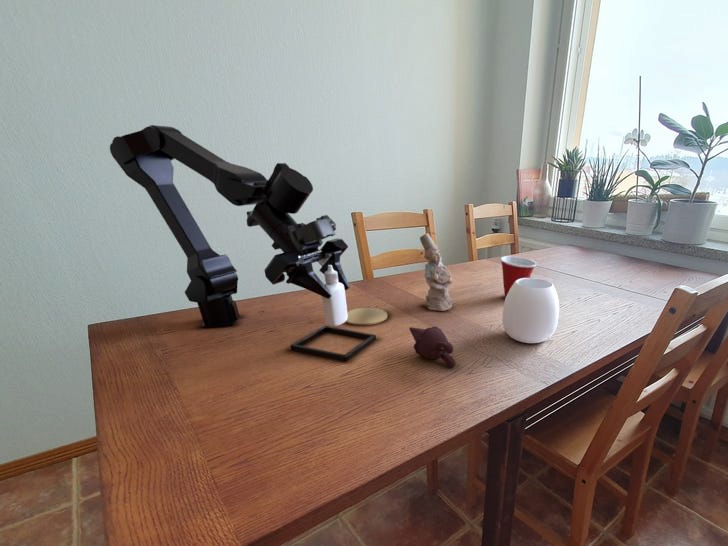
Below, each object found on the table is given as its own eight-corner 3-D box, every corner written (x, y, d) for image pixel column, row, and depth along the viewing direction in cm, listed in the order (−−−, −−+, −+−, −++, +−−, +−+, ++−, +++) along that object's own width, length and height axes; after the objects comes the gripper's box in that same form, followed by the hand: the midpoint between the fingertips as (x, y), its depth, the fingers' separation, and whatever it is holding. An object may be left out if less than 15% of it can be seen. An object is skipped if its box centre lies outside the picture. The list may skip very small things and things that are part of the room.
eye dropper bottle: (319, 322, 78) (310, 265, 72) (343, 315, 82) (336, 260, 76) (330, 328, 76) (322, 270, 70) (354, 321, 80) (348, 265, 74)
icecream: (392, 322, 78) (436, 354, 70) (420, 307, 82) (465, 336, 73) (399, 348, 83) (441, 380, 74) (426, 332, 86) (468, 362, 78)
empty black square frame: (291, 350, 79) (290, 345, 78) (325, 330, 88) (325, 325, 88) (346, 361, 75) (345, 356, 75) (376, 339, 85) (375, 334, 85)
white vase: (565, 337, 92) (574, 284, 85) (533, 354, 83) (541, 296, 76) (522, 321, 99) (528, 271, 93) (489, 335, 90) (493, 281, 84)
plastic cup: (534, 305, 111) (539, 265, 105) (497, 303, 111) (501, 263, 105) (530, 293, 121) (534, 256, 115) (497, 291, 120) (499, 254, 115)
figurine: (416, 304, 106) (414, 231, 97) (441, 299, 111) (441, 229, 102) (434, 314, 100) (434, 238, 91) (459, 308, 105) (461, 235, 96)
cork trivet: (343, 326, 90) (343, 325, 90) (343, 310, 99) (342, 308, 99) (389, 323, 94) (389, 321, 93) (385, 308, 103) (385, 306, 102)
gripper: (263, 205, 61) (331, 281, 64) (334, 197, 77) (386, 258, 79) (236, 249, 66) (299, 317, 69) (308, 232, 82) (357, 288, 85)
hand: (339, 292), depth 75 cm, fingers closed on eye dropper bottle, 5 cm apart
